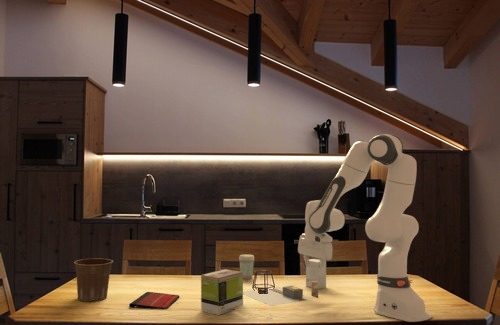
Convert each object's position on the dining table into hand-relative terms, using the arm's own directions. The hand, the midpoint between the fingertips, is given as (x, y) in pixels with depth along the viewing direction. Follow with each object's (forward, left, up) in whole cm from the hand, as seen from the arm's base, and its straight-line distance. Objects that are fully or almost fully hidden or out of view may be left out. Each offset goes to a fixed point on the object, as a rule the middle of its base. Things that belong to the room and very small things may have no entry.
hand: (314, 266), depth 207 cm
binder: (+27, +64, -14) cm, 71 cm away
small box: (+16, -14, -14) cm, 25 cm away
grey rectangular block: (+2, +11, -12) cm, 16 cm away
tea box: (+4, +45, -14) cm, 47 cm away
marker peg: (0, 0, -14) cm, 14 cm away
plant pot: (+47, +86, -14) cm, 99 cm away
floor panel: (+7, +17, -14) cm, 23 cm away
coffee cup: (+50, +5, -14) cm, 52 cm away
